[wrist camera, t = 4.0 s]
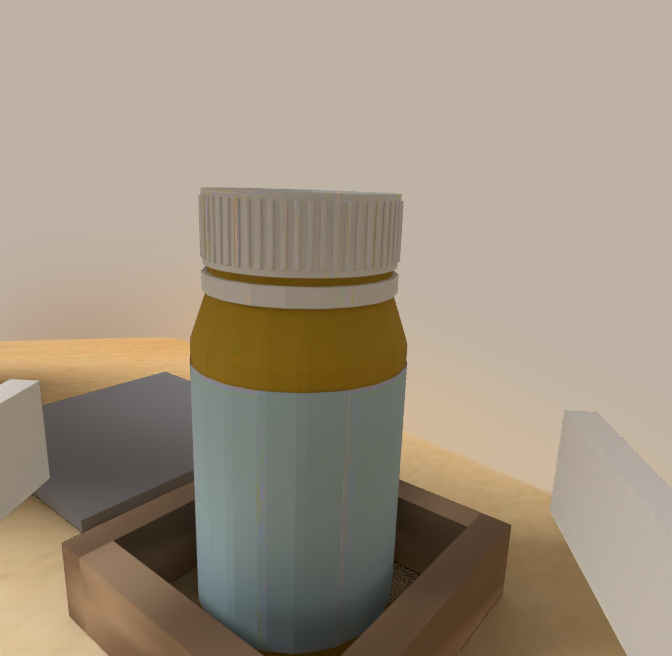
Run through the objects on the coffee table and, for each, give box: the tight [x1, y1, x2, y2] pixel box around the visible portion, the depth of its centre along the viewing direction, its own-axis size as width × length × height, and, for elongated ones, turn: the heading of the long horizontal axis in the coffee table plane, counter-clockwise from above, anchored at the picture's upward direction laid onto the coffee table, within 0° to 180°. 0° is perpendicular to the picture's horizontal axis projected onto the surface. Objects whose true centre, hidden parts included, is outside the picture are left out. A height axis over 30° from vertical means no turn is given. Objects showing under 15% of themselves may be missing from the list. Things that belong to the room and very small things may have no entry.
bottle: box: [190, 187, 407, 656], centre depth 19 cm, size 7×7×15 cm
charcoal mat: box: [33, 372, 194, 532], centre depth 34 cm, size 14×14×1 cm
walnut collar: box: [62, 480, 511, 656], centre depth 20 cm, size 11×11×3 cm
